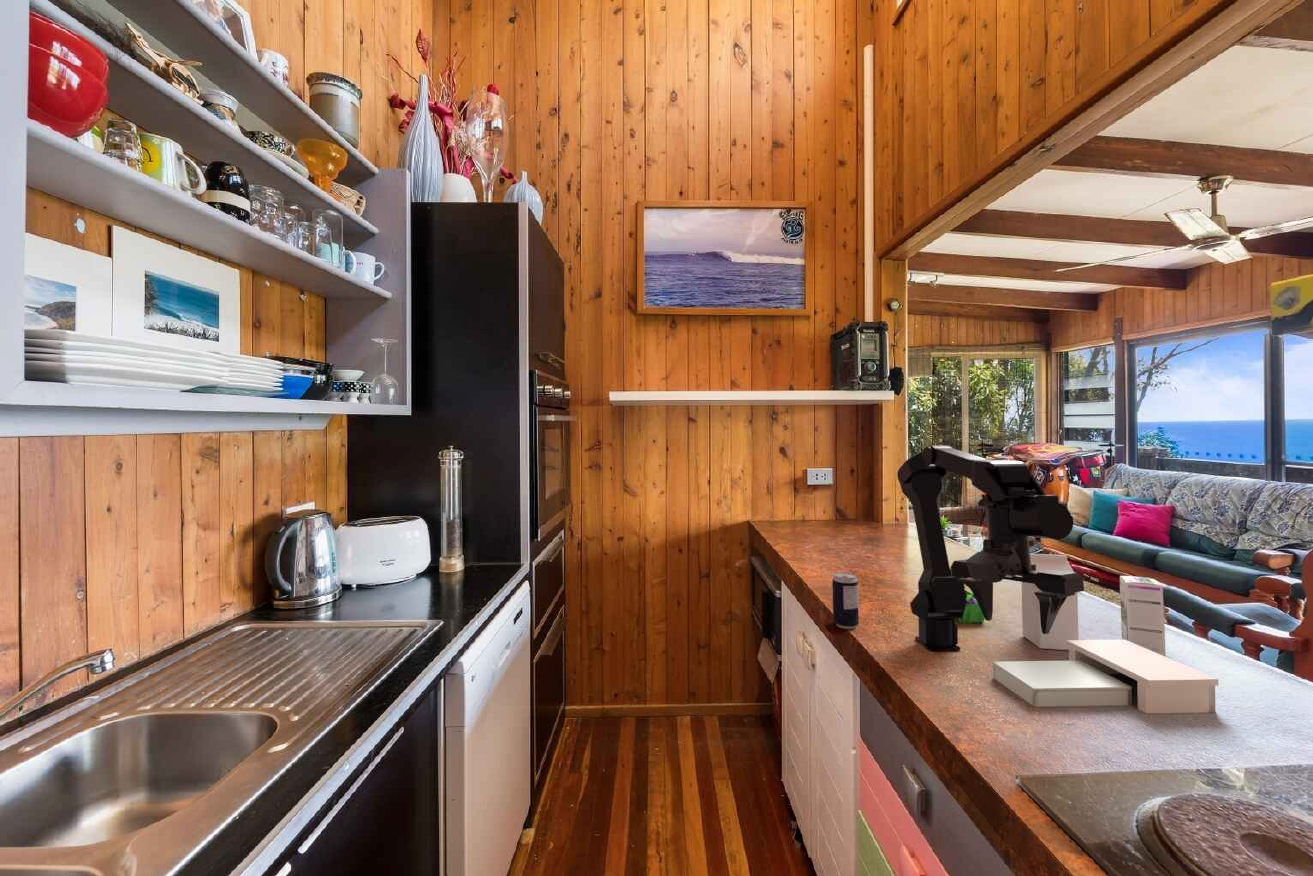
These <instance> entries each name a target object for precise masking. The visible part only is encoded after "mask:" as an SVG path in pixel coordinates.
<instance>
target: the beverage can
mask: <svg viewBox="0 0 1313 876" xmlns="http://www.w3.org/2000/svg"><path fill="white" fill-rule="evenodd" d="M833 575H834V576H833V577H832V580H831V581H832V583H831V584H832V621H833V623H834V624H835V625H836V626H837V627H838V628H840V629H845V630H851V629H855V628H856V626H858V625H859V624H860V623H859V621H860V620H859V619H860V617H859V580H858V579H857V576H856V574H854V573H850V572H844V571H843V572H841V571H840V572H836V573H834V574H833Z"/></svg>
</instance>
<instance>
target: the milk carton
mask: <svg viewBox="0 0 1313 876" xmlns="http://www.w3.org/2000/svg"><path fill="white" fill-rule="evenodd" d="M1030 560H1031V564H1036V570H1035V571H1032V572H1035V573H1037V572H1041V571H1048V570H1060V571H1067V572H1075V571H1074V569H1073V568H1072V567H1071V565H1070V563H1069V561H1068V555H1067V554H1050V553H1049V554H1045V553H1030ZM1039 591H1040V590H1039V589H1038V588H1037V587H1036V586H1035V584H1032V583H1026V582H1021V607H1022V608H1021V610H1022V611H1021V616H1022V617H1021V618H1022V619H1021V620H1022V621H1021V622H1022V636H1023V637H1024V638H1025V639H1027V640H1028V641H1029V642H1030V643H1032V644H1033V645H1035V646H1037V648H1039V649H1048V650H1060V651H1061V650H1062V651H1063V650H1064V651H1069V646H1067V640H1079V603H1078V601H1079V600H1078V597H1079V596H1078V592H1075V595H1073V596H1068V597H1067V598H1066V600H1065V602H1064V603H1063V605H1062V606H1061V608H1060V610H1059V612H1058V614H1057V616H1056V618H1055V621H1054V623H1053V625H1052V627H1051V629H1050V632H1049V633H1048V634H1043V633H1042V629H1041V622H1040V605H1039V600H1038V598H1037V597H1036V595H1035V594H1034V592H1039Z"/></svg>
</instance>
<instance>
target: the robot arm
mask: <svg viewBox="0 0 1313 876" xmlns="http://www.w3.org/2000/svg"><path fill="white" fill-rule="evenodd" d="M950 472H952V473H953V474H956V475H959V476H960V477H961V476H962V477H964V478H967V479H968V480H970V482H971V485H972V486H973V487H974V488H976V489H978V490H979V491H980V492H981V493H984V494H985V495H984V496H983V498H981V499H979V501H978V502H977V506H979V507H985V509H986V523H987V534H988V535H987V536H988V538H987V539H986V538H985V539H983V543H982V550H981V551H977V552H976V553H974V554H973V555H971V556H970V557H969V558H967V559H959V560H958V559H957V560H954V561H953V562H952V563H951V565H950V563H949V561H950V560H949V559H948V558H949V556H948V552H947V547H946V541H945V536H944V531H943V526H942V520H941V514H940V511H939V505H938V499H939V497H940V495H941V492H942V490H943V480H944V478H945V477H946V476H947V475H948V474H949V473H950ZM897 480H898V481H899V486H900V488H901V492H902V493H903V495H904V496H905V498H907V499H908V500H909V501H910V503H911V504H912V510H913V517H914V523H915V527H916V534H917V538H918V544H919V550H920V557H921V561H922V567H923V569H922V573H921V574H920V576H919V579H918V582H917V589H918V593H917V594H916V595H915V596H914V597H913V599H912V600H911V601H910V603H909V604H910V611H911V614H913V615H915V616H916V617H918V636H915V637H914V640H915V641H917V642H918V643H920V644H921V645H922V646H923V647H925V648H926V649H927V650H928V651H931V652H932V651H933V652H935V651H936V652H938V651H939V652H940V651H942V652H943V651H961V647H960V646H959V645H958V644H959V643H958V642H959V638H958V634H959V633H958V632H959V631H958V630H959V629H958V624H957V623H956V620H957V618H959V619H962V618H963V614H964V611H965V607H966V603H967V599H966V597H967V594H966V592H965V590H966V588H965V589H964V584H965V585H966V587H968V588H969V590H970V591H971V593H972V594H974V596H975V598H976V600H977V602H978V605H979V607H980V609H981V611H982V613H983V615H984V617H985V619H984V621H988V622H989V621H992V619H993V612H994V611H993V610H994V609H993V608H994V583H1000V582H1001V581H1003V580H1007V581H1014V582H1020V583H1022V582H1026V583H1032V584H1035V586H1036V587H1037V588H1038V589H1039V590H1040V591H1039V592H1034V594H1035V595H1036V597H1037V598H1038V600H1039V605H1040V622H1041V629H1042V633H1043V634H1048V633H1049V632H1050V629H1051V627H1052V625H1053V623H1054V621H1055V618H1056V616H1057V614H1058V612H1059V610H1060V608H1061V606H1062V605H1063V603H1064V602H1065V600H1066V598H1067V597H1068V596H1073V595H1075V592H1077V593H1080V592H1084V591H1085V583H1084V579H1083V578H1082V577H1081V575H1080V574H1079V573H1078V572H1076V571H1074V572H1067V571H1060V570H1048V571H1041V572H1037V573H1035V572H1032V571H1035V570H1036V564H1031V560H1030V554H1031V551H1030V550H1031V549H1030V547H1034V546H1035V541H1034V539H1029V537H1031V538H1032V537H1033V538H1040V539H1049V540H1056V541H1058V540H1062V539H1065V538H1066V537H1068V536H1069V535H1070V534H1071V532H1072V530H1073V529H1074V516H1072V515H1071V511H1070V510H1069V509H1068V508H1067V507H1066V506H1065V505H1064V504H1062V503H1060V501H1059V496H1058V495H1057V494H1046V493H1045V491H1044V488H1042V487H1041V486H1040V484H1039V483H1038V480H1036V478H1035V477H1034V475H1033V474H1032V473H1031V471H1030V470H1029V469H1028V465H1027V464H1026V463H1025V462H1023V461H1020V460H1011V459H1010V460H1009V459H1006V460H1004V459H987V458H985V457H982V456H981V457H980V456H977V455H974V454H973V453H972V454H971V453H968V452H965V451H963V450H958V449H956V448H953V447H952V446H949V445H946V444H945V445H928V446H925V447H924V448H923V449H922V450H921V451H920V452H919V453H917V454H915V455H913V456H911V457H909V458H908V459H906V460H905V461H904V462H903V464H902V465H900V467H899V468H898V470H897Z"/></svg>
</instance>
